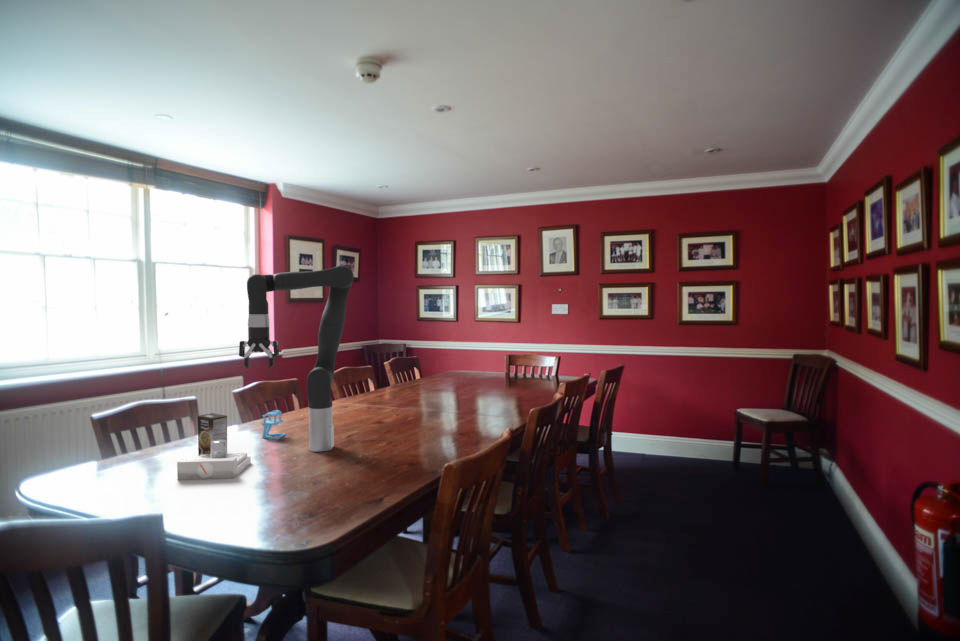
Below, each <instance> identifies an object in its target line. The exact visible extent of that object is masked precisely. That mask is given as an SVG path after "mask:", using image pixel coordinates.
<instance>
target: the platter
mask: <svg viewBox="0 0 960 641" xmlns="http://www.w3.org/2000/svg"><path fill="white" fill-rule="evenodd" d="M247 456H248V453H245V452H243V453H241V452H240V453H227V454H226V458H237V465H238V464H239V463H240V462H241V461H242V460H244V459H245V458H246V457H247ZM194 459H211V454H201V455H200V456H197V457H195V458H194Z"/></svg>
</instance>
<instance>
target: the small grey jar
mask: <svg viewBox="0 0 960 641" xmlns="http://www.w3.org/2000/svg"><path fill="white" fill-rule="evenodd" d="M226 452H227V453H228V439H227V440H214V441H211V459H213V458H226Z"/></svg>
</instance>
